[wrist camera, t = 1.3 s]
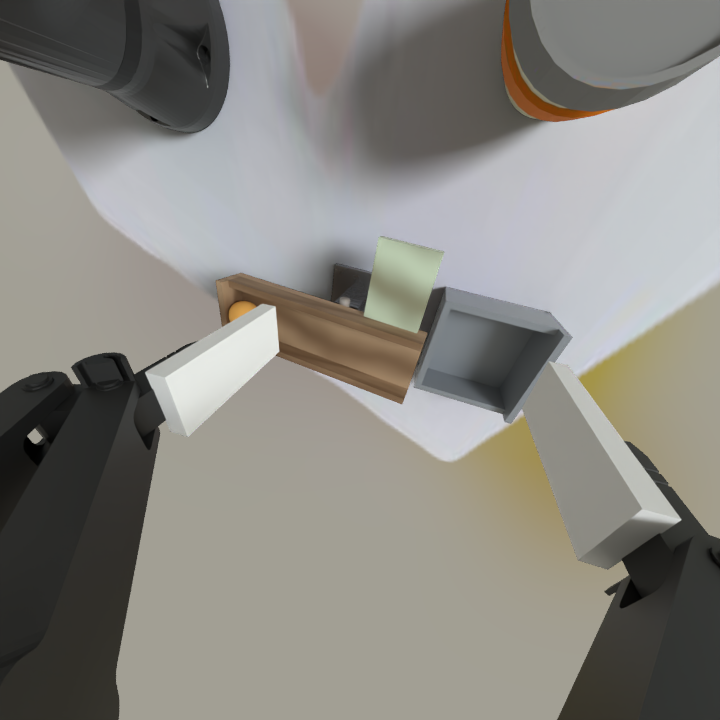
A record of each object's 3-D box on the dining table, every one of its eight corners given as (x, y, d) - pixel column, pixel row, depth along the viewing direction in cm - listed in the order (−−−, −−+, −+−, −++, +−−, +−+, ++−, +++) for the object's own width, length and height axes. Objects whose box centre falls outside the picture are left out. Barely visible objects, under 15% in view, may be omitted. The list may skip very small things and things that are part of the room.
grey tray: (445, 286, 34) (446, 305, 29) (549, 312, 33) (572, 337, 27) (417, 366, 42) (412, 393, 36) (501, 390, 40) (510, 423, 34)
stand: (336, 263, 37) (316, 276, 31) (392, 277, 36) (382, 293, 30) (328, 338, 43) (310, 360, 37) (375, 351, 42) (364, 376, 36)
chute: (242, 199, 30) (204, 198, 25) (456, 252, 25) (452, 262, 20) (251, 329, 39) (224, 344, 35) (408, 387, 34) (398, 413, 30)
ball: (240, 302, 34) (216, 310, 32) (257, 293, 32) (234, 301, 30) (254, 327, 35) (232, 337, 33) (271, 320, 34) (250, 331, 31)
